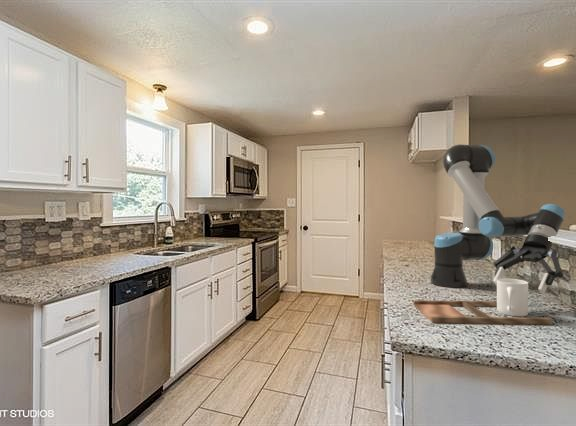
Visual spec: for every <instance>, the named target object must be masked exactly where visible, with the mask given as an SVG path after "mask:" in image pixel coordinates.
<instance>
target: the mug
mask: <svg viewBox="0 0 576 426" xmlns="http://www.w3.org/2000/svg"><path fill="white" fill-rule="evenodd" d="M496 301H497V306H496V309H497V311H498V312H499V313H500V314H502V315H506V316H510V317H526V316H528V314H529V282H528V281H526V280H524V279H523V280H522V279H516V278H504V277H503V278H501V279H497V286H496Z"/></svg>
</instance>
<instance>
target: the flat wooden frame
mask: <svg viewBox="0 0 576 426" xmlns="http://www.w3.org/2000/svg"><path fill="white" fill-rule="evenodd" d="M412 301H413V302H412V303H413V304H412V305H413V306H414V307H415V308H417V310H418V311H420V312H421V314H423V316H425V317H426V318H427V320H429V321H430V322H431V324H432V323H433V324H438V323H439V324H440V323H441V324H486V325H487V324H494V325H498V324H500V325H501V324H502V325H552V324H553V319H552V318H551V317H525V316H523V317H517V316H510V317H509V316H506V317H505V316H490V315H489V314H487V313H485V312H484V311H482V310H480V309H478V308H477V307H497V300H438V299H437V300H431V299H430V300H428V299H425V300H424V299H423V300H422V299H420V300H419V299H415V300H412ZM454 307H463V308H465V309H466V310H467V311H468V312H471V313H472V314H474V315H475V316H466V315H464V314H463V313H461V312H460V311H458V310H457V309H456V308H454Z"/></svg>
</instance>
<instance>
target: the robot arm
mask: <svg viewBox="0 0 576 426" xmlns="http://www.w3.org/2000/svg"><path fill="white" fill-rule="evenodd" d="M495 155H496V154H495V153H494V151H493V149H492V148H491V147H489V146H486V145H480V144H455V145H454V146H453V145H452V146H450V147H449V148H448V149H447V150H446V151H445V153H444V156H443V158H442V160H443V161H442V164H443V167H444V170H445V172H446V173H447V176H449V177H452V179H453V180H454V181H455V183H456V184H457V185H458V187H459V189H460V190H461V192H462V194H463V196H462V197H463V198H462V199H463V200H462V201H463V202H462V203H463V204H462V205H463V206H462V210H463V211H462V228H461V229H460V230H458V231H459V232H449V233H448V232H446V233H441V234H437V235H436V236H435V238H434V244H433V246H434V247H433V248H434V267H433V269H432V273H431V276H430V283H431V284H432V285H435V286H438V287H445V288H465V287H467V286H468V279H467V277H466V274H465V271H464V269H463V268H464V267H463V262H464V261H480V260H484V259H487V258H489V257H490V256H491V254H492V253H493V251H494V242H493V240H492V238H493V237H494V238H498V237H513V238H517V237H524V236H526V238H525V239H524V242H523V244H522V247H521V248H517V247H516V246H511V247H510V248H509V250H508V251H506V253H504V254H503V255H501V256H500V257H499V258H497V259H496V260H495V261H493V262H492V264H493V266H494V267H495V268H496V270H495V271H494V275H495V276H494V278H493V283H494V284H495V286H496V287H497V279H501V278H504V276H505V273H506V269H510V268H511V267H513V266H515V265H517V264H519V263H523V262H529V263H530V262H532V263H538V262H539V263H540V265H542V267H543V268H544V269H545V271H546V272H545V273H544V274H543V277H542V280H541V282H540V284H539V285H538V288H537V289H538V291H539V293H540V295H544V296H545V293H546V291H547V289H548V287H550V286H552V285H553V283H554V280H555V278H561V279H562V278H564V273H563V271H562V267H561V265H560V261H559V257H560V254H559V252H558V251H557V250H556V249H553V250H551V249H552V247H553V244H554V242H553V243H552V242H550V241H548V237H551V236H556V237H557V234H558V232H559V230H560V228H561V226H562V224H563V222H564V220H565V217H566V210H565V209H564V208H562V207H561V206H560V205H558V204H556V203H555V204H553V203H546V204H544V205H542V206H541V207H540V208H539V209H538V212H534V213H530V214H526V215H520V216H505V215H503V213H502V212H501V211H500V209H499V208H498V207H497V205H496V204H495V202H494V201H493V200H492V198H491V197H490V195H489V194H488V192H487V191H486V189H485V187H486V186H485V183H486V182H485V181H486V177H487V176H488V175H489V171H490V170H491V169H492V168H493V166H494V165H495V163H496V156H495ZM491 237H492V238H491ZM548 257H549V258H551V260H552V262H553V263H552V264H553V266H554V269H555V271H553V269H552V268H551V267H550V265H549V264H548V262H547V261H546V260H545V259H546V258H548Z"/></svg>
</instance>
